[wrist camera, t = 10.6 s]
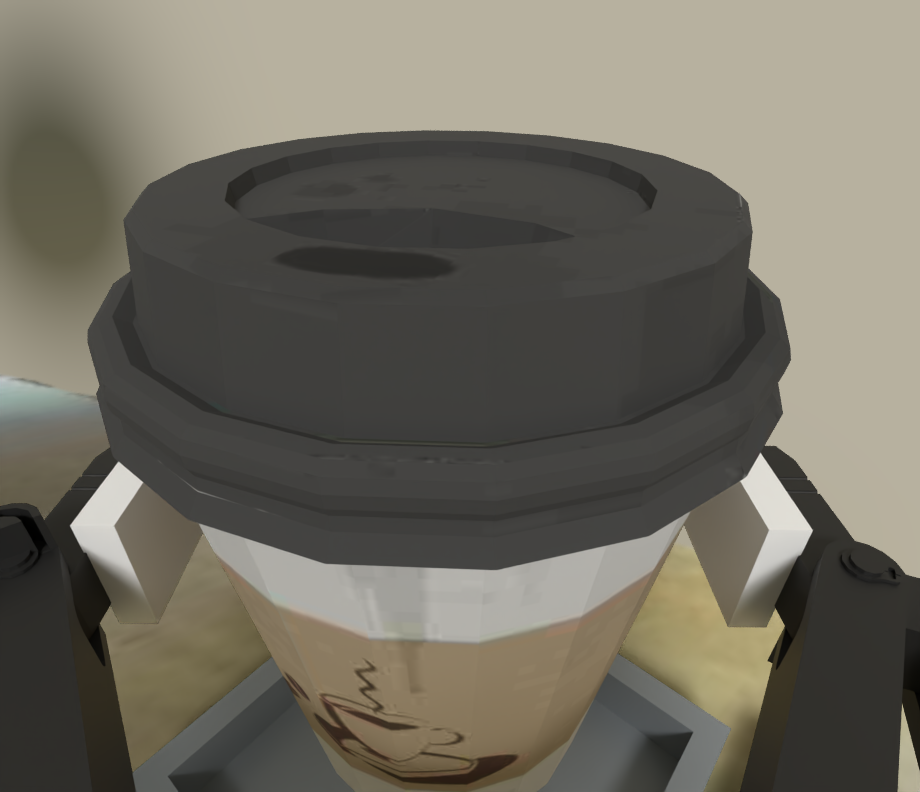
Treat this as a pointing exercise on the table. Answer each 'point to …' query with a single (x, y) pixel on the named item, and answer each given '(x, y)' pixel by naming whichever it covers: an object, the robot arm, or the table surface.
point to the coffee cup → (440, 418)
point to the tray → (320, 788)
